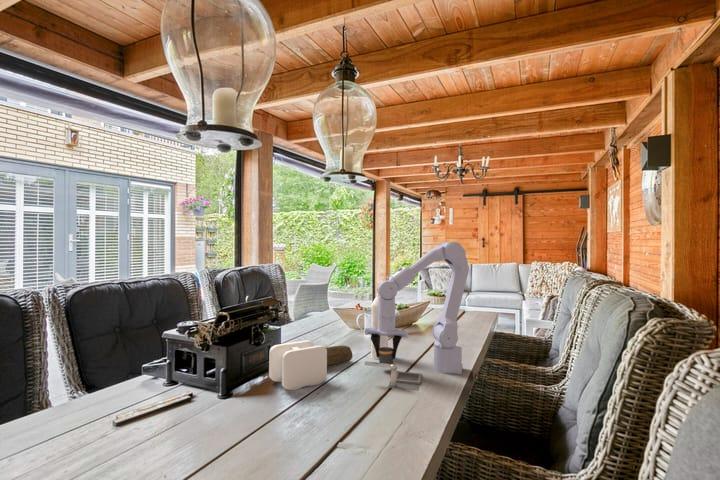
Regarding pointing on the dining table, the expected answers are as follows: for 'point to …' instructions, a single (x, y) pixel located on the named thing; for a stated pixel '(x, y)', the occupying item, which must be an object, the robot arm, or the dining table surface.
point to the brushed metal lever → (381, 365)
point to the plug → (386, 355)
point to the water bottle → (375, 325)
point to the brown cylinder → (338, 355)
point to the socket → (405, 380)
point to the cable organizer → (298, 364)
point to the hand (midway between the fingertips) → (386, 357)
